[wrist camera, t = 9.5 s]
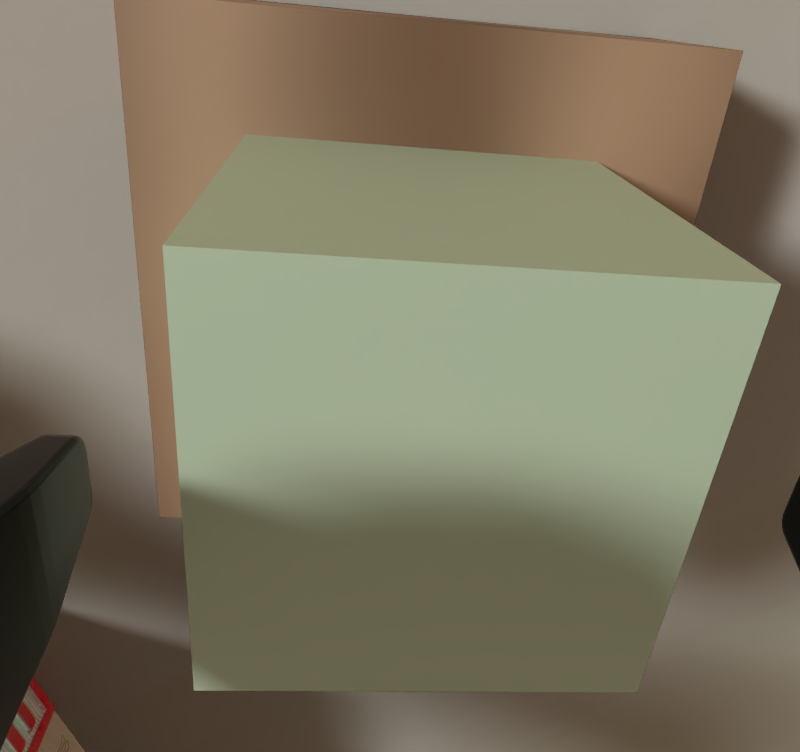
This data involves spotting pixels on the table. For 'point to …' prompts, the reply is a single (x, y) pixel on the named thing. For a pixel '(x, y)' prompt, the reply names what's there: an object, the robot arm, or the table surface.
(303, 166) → the green cube
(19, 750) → the stack of blocks
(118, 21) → the walnut base
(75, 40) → the table surface
